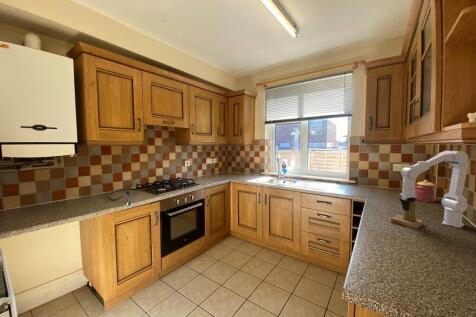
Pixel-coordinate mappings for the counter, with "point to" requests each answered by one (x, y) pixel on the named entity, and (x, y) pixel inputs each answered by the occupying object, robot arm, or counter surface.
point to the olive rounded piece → (410, 213)
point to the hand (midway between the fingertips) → (407, 209)
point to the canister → (425, 191)
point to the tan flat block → (406, 222)
